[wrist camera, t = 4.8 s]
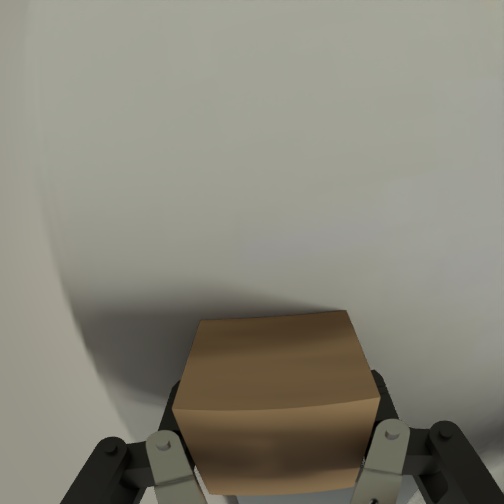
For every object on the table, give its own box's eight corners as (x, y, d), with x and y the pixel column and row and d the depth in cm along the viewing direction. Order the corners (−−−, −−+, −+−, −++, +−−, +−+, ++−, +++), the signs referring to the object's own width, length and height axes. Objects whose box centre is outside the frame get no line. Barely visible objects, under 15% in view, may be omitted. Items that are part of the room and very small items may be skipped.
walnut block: (200, 320, 13) (171, 409, 8) (346, 310, 12) (380, 397, 8) (221, 414, 15) (209, 494, 10) (337, 406, 14) (353, 487, 10)
